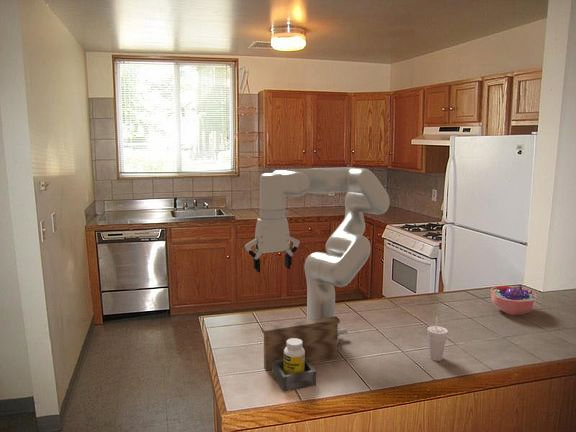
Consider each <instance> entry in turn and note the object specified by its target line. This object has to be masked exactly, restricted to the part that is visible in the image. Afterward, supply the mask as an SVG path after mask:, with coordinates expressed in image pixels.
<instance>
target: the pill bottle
mask: <svg viewBox="0 0 576 432" xmlns="http://www.w3.org/2000/svg"><path fill="white" fill-rule="evenodd" d="M286 346H287V347H286V348H285V349H284V369H283V372H284V373H285V375H288V374H294V373H299V372H304V371H305V350H304V348H303V347H302V346H303V342H302V340H300V339H297V338H291V339H288V340H287V342H286Z"/></svg>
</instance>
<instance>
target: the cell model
mask: <svg viewBox="0 0 576 432" xmlns="http://www.w3.org/2000/svg"><path fill="white" fill-rule="evenodd" d="M490 296H491V297H490V299H491V302H492V304H493V305H494V307H495V308H497V309H498V310H500V311H502V312H503V313H505V314H508V315H510V316H517V315H518V316H519V315H525V314H529V313H530V312H531V311H533V309H534V308H535V304H536V300H537V298H538V295H537V294H536V293H535V292H534V291H533V290H530V289H528V288H525V287H523V286H522V285H520V286H519V285H497V286H496V285H495V286H494V287H491V288H490Z"/></svg>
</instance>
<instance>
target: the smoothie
mask: <svg viewBox="0 0 576 432" xmlns="http://www.w3.org/2000/svg"><path fill="white" fill-rule="evenodd" d="M438 319H439V318H438V316H435V325H431V326H428V327H427V331H426V333H427V336H428V347H429V348H428V349H429V350H428V351H429V358H430V359H431V360H433V361H438V362H440V361H441V360H443V355H444V350H445V345H446V340H447V337H448V335H449V330H448V329H447V328H445V327H443V326H439V325H438Z"/></svg>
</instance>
